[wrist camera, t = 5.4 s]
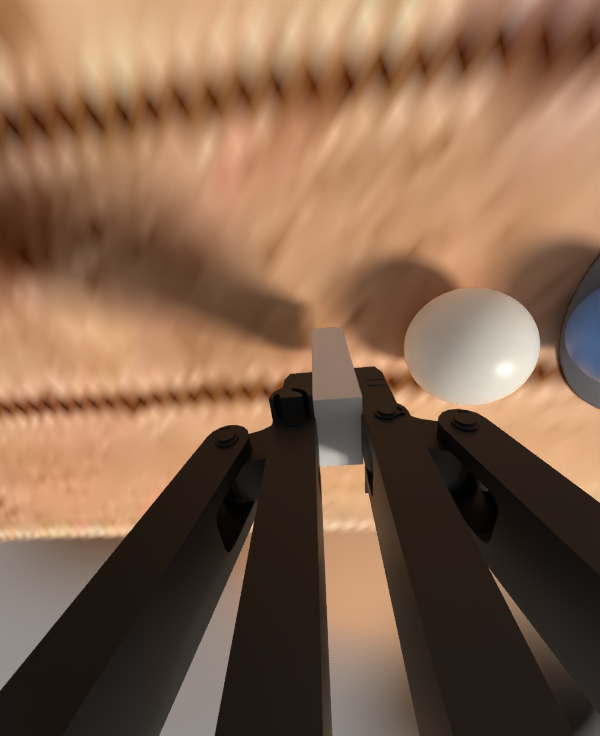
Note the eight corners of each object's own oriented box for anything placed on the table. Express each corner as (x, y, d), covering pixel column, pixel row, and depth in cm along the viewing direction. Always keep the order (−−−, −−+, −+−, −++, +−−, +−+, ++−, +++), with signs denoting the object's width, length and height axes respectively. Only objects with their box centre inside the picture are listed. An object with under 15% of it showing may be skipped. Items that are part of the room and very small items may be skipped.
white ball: (600, 371, 11) (506, 330, 16) (538, 266, 10) (454, 256, 15) (477, 450, 13) (425, 391, 18) (404, 371, 11) (370, 330, 16)
